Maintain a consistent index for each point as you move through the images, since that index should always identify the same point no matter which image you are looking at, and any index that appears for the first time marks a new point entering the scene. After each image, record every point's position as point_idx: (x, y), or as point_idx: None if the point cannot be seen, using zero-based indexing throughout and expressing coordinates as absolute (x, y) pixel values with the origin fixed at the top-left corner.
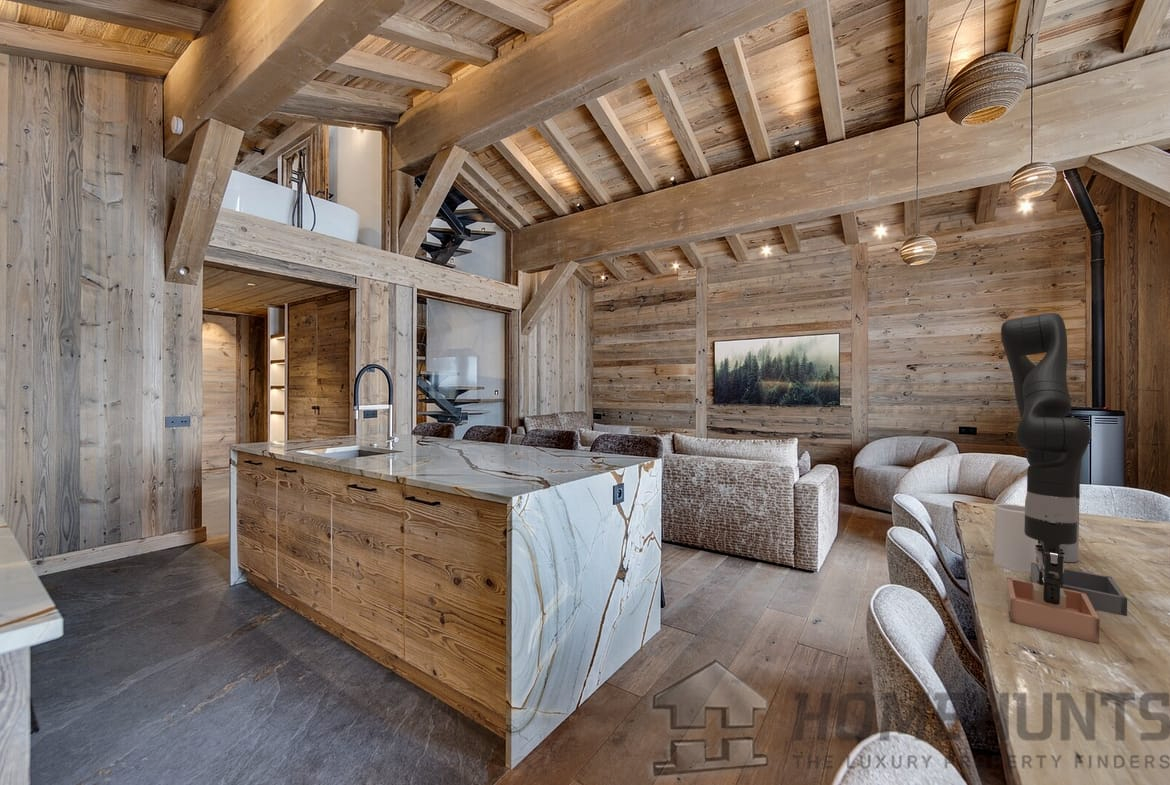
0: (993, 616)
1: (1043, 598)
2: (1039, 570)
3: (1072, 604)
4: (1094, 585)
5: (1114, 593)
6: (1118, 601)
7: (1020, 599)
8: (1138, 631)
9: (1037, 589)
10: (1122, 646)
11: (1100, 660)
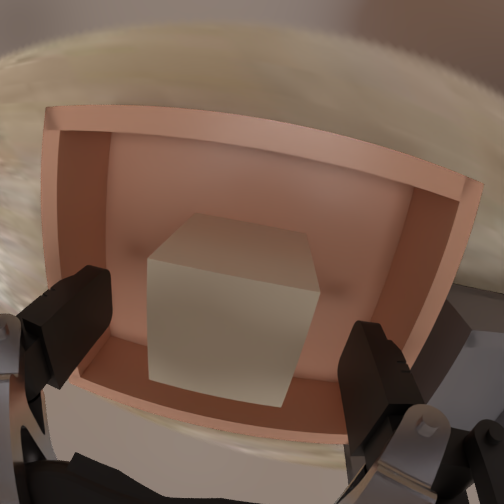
0: (133, 58)
1: (96, 269)
2: (386, 402)
3: None
4: None
5: None
6: (355, 473)
7: (374, 205)
8: (276, 440)
9: (172, 279)
10: None
11: (16, 287)
